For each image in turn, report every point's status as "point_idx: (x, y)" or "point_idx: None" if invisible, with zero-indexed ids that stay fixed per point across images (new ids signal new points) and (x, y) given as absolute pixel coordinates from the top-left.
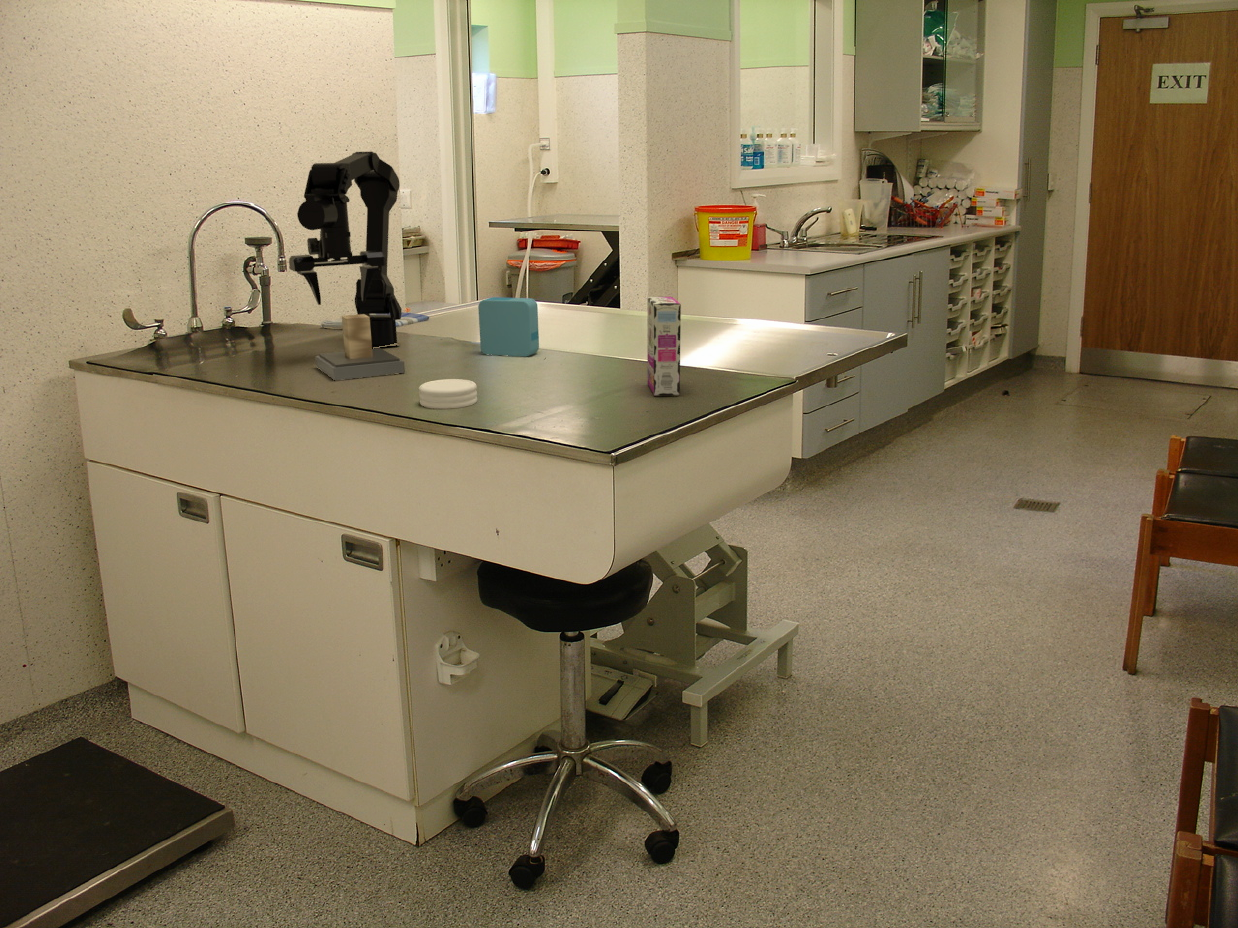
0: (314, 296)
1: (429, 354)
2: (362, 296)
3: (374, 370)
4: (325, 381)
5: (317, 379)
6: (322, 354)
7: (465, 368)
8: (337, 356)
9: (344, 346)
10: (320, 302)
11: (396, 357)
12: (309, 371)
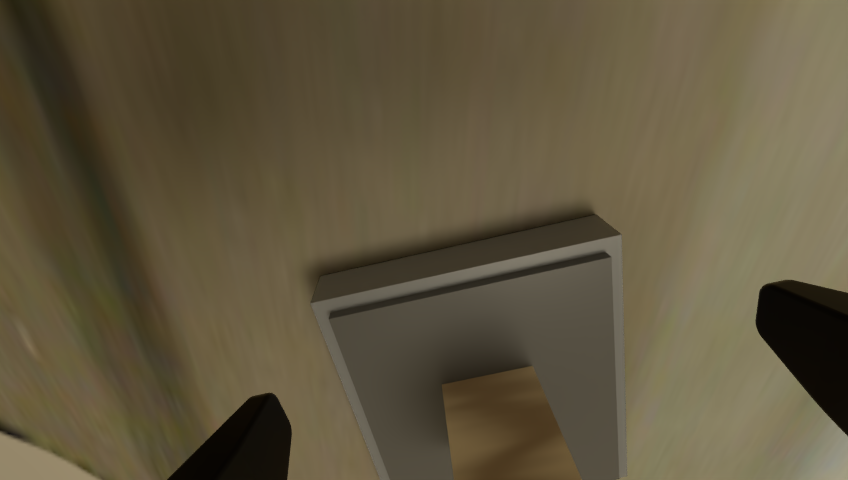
0: (177, 473)
1: (834, 104)
2: (804, 360)
3: None
4: (371, 477)
5: (344, 450)
6: (345, 340)
7: (795, 413)
8: (410, 397)
9: (446, 417)
10: (285, 460)
11: (615, 462)
12: (300, 329)
